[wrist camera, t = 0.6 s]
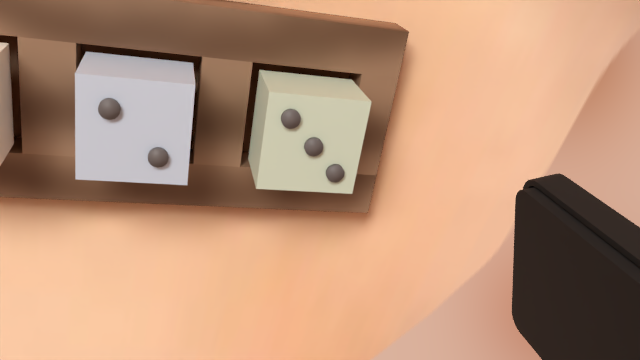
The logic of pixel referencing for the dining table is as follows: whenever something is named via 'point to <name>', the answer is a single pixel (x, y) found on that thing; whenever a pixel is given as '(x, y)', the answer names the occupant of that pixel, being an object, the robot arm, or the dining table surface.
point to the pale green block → (307, 132)
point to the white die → (133, 119)
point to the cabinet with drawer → (212, 92)
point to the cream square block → (5, 103)
